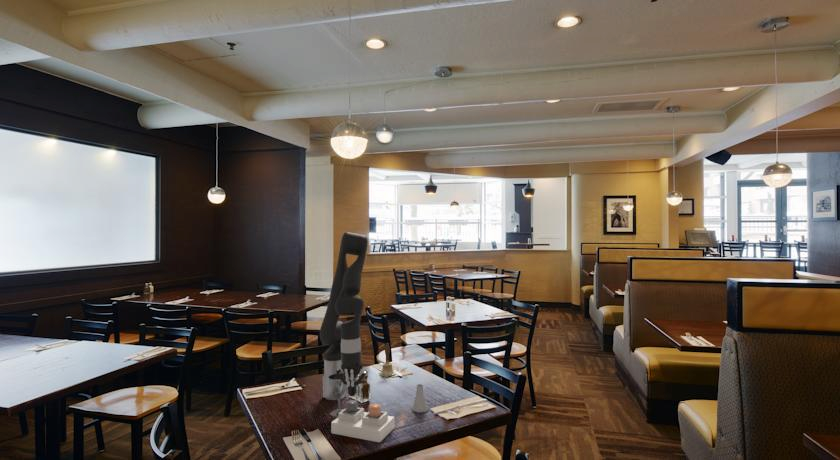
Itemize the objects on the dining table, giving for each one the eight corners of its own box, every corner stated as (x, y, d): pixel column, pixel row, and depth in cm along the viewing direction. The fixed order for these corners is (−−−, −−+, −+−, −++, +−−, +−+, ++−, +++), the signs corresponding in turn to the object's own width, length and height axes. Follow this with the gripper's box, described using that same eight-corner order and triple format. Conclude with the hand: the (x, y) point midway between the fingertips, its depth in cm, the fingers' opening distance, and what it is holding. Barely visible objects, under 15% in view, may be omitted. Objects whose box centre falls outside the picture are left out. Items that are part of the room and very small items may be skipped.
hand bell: (397, 371, 223) (396, 341, 223) (393, 377, 215) (392, 345, 215) (381, 371, 225) (381, 340, 225) (377, 376, 216) (376, 345, 216)
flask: (427, 413, 172) (426, 389, 172) (409, 412, 173) (409, 388, 173) (430, 406, 179) (430, 382, 179) (413, 405, 180) (413, 381, 180)
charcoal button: (343, 411, 160) (343, 403, 160) (349, 407, 164) (349, 399, 164) (353, 413, 158) (353, 405, 158) (359, 408, 162) (359, 400, 162)
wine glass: (352, 409, 177) (351, 373, 177) (343, 418, 170) (342, 380, 169) (335, 407, 180) (334, 372, 180) (325, 415, 172) (324, 378, 172)
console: (331, 433, 157) (331, 415, 157) (348, 419, 168) (348, 402, 168) (379, 442, 150) (379, 423, 150) (394, 427, 161) (394, 410, 161)
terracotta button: (366, 415, 156) (366, 407, 156) (372, 410, 160) (372, 402, 160) (377, 417, 154) (377, 409, 154) (383, 412, 158) (382, 404, 158)
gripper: (330, 351, 160) (331, 397, 160) (361, 353, 155) (363, 401, 155) (341, 345, 167) (342, 390, 167) (371, 348, 162) (372, 394, 162)
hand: (352, 395), depth 161 cm, fingers closed
